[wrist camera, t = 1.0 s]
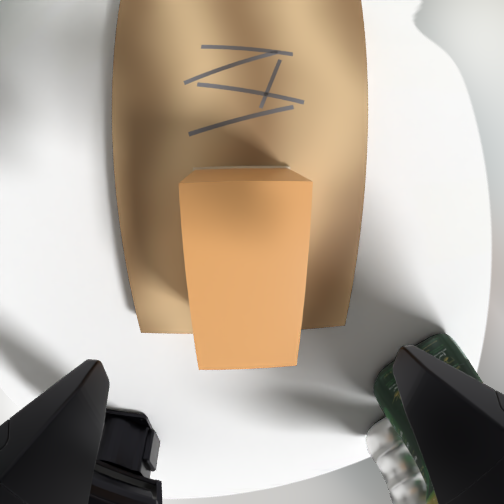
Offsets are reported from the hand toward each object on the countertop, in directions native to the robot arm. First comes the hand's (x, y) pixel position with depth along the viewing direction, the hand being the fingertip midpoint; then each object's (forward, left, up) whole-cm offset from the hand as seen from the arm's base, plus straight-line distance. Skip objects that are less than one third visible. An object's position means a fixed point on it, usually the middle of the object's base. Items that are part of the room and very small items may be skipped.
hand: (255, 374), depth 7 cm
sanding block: (0, 0, -10) cm, 10 cm away
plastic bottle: (+17, -24, -11) cm, 31 cm away
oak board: (0, +5, -11) cm, 12 cm away
